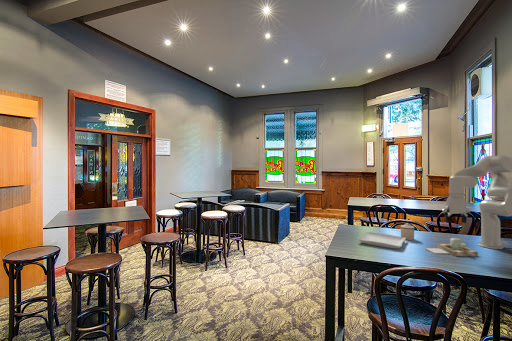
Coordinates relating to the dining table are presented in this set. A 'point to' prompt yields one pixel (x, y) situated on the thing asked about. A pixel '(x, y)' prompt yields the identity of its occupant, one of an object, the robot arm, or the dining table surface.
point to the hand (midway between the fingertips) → (456, 222)
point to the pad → (436, 250)
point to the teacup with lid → (407, 231)
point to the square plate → (382, 240)
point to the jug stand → (463, 252)
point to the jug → (456, 244)
